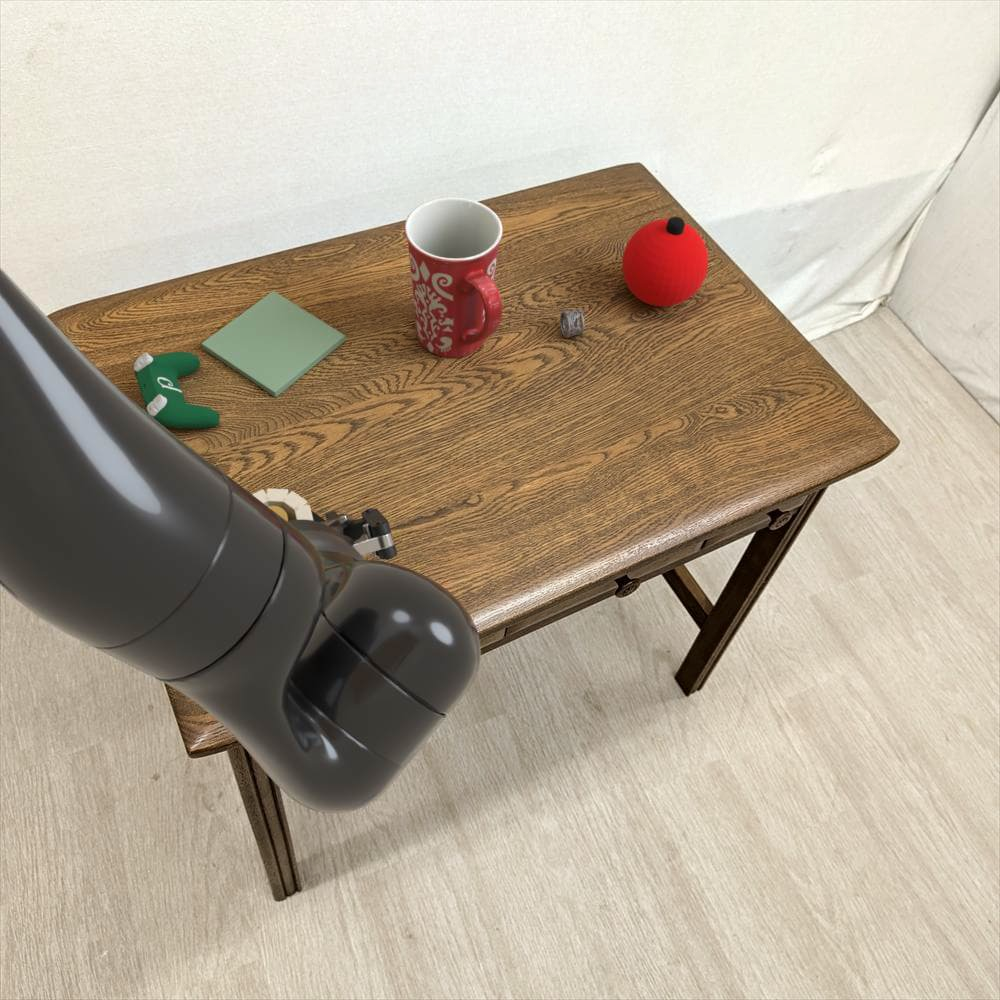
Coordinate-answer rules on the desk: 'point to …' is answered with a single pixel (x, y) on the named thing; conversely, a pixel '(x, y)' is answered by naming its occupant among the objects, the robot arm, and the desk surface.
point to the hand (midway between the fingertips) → (278, 542)
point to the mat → (273, 343)
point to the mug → (454, 274)
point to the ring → (286, 503)
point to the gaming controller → (171, 390)
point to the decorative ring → (572, 318)
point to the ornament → (665, 262)
